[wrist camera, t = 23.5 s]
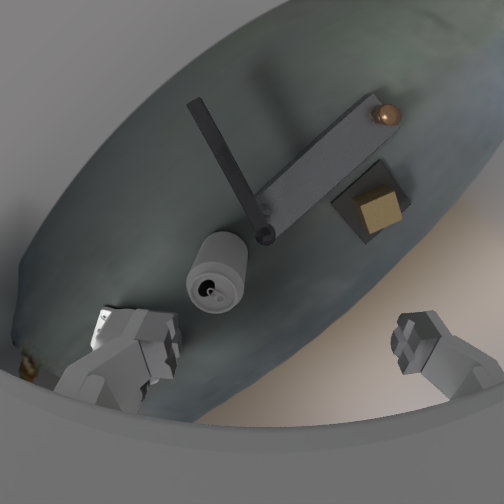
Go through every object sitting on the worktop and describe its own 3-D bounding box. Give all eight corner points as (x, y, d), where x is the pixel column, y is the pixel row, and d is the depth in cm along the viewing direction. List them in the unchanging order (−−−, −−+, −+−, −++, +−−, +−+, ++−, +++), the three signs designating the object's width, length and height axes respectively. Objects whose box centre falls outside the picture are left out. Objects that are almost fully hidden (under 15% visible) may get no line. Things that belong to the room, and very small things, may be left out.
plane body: (274, 230, 43) (276, 252, 37) (246, 203, 41) (242, 221, 35) (393, 124, 35) (416, 128, 28) (367, 92, 33) (388, 89, 26)
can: (216, 220, 43) (200, 257, 32) (257, 245, 44) (255, 289, 34) (193, 256, 46) (173, 300, 35) (232, 279, 47) (223, 327, 37)
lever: (278, 236, 36) (279, 240, 34) (261, 244, 36) (261, 248, 35) (204, 96, 28) (201, 95, 27) (185, 106, 29) (182, 106, 28)
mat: (364, 242, 43) (365, 244, 43) (330, 202, 41) (331, 204, 40) (409, 203, 40) (411, 204, 39) (378, 159, 37) (380, 160, 37)
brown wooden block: (361, 223, 41) (369, 234, 38) (352, 197, 40) (360, 206, 36) (392, 210, 40) (402, 219, 36) (383, 184, 38) (394, 191, 35)
